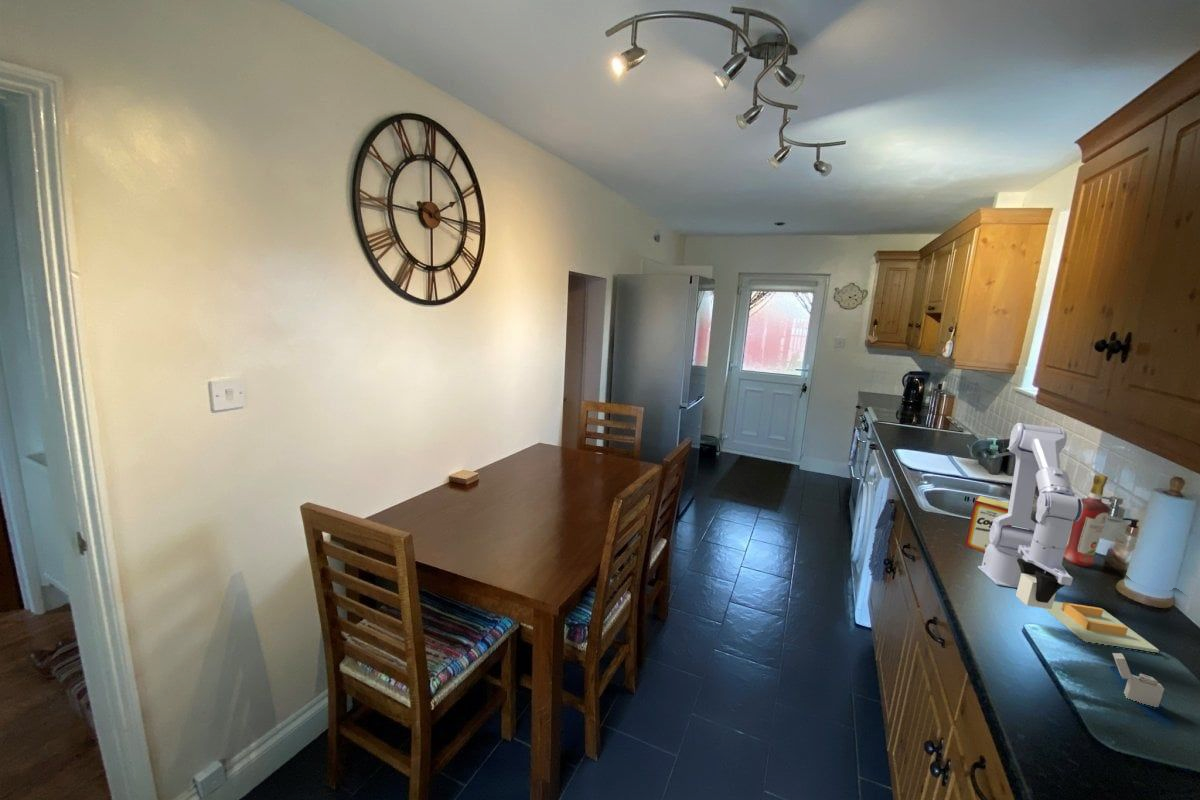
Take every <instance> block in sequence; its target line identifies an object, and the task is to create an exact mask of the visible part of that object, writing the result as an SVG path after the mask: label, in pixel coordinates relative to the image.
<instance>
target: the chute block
mask: <svg viewBox="0 0 1200 800" xmlns="http://www.w3.org/2000/svg"><path fill="white" fill-rule="evenodd" d="M1036 589H1037V580H1036V576H1035V575H1031V574H1024V573H1021V577H1020V581H1019V585H1018V588H1017V590H1016V594H1015V596H1016V597H1017V598H1018V599H1019V600H1020V601H1021V602H1022V603H1024V604H1025V606H1027V607H1032V608H1033V607H1034V608H1035V607H1036V608H1041V609H1045V608H1046V609H1052V605H1053V602H1054V601H1055V597H1056V594H1057V592H1056V593H1055V594H1054V595H1053V596H1052V598H1051V599H1050V600H1049V602H1048V603H1044V602H1038V601H1037V600H1036ZM1046 609H1045V610H1046Z"/></svg>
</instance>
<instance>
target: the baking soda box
mask: <svg viewBox="0 0 1200 800" xmlns="http://www.w3.org/2000/svg"><path fill="white" fill-rule="evenodd" d="M1008 508H1009V502H1005V501H1002V500H999V499H993V498H991V497H990V498H989V497H986V496H983V495H977V497H976V498H975V499H974V503H973V507H972V511H971V516H970V521H969V525H968V528H967V533H966V538H965V542H964V546H965V545H966V546H969V547H971V548H970V549H972V548H974V549H973V550H975V549H978V550H980V551H979V552H981V551H983V552H982V553H984V552H985V549H986V547H987V546H988V545H989V544H990V543H991V542H990V539H989V533H990V529H991V526H992V524H993V520H994V518H996V517H998V516H1001V515H1004V514H1006V513H1008ZM1006 526H1011V527H1014V526H1013V525H1006ZM966 546H965V547H966ZM969 547H968V548H969ZM978 550H977V551H978Z"/></svg>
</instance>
